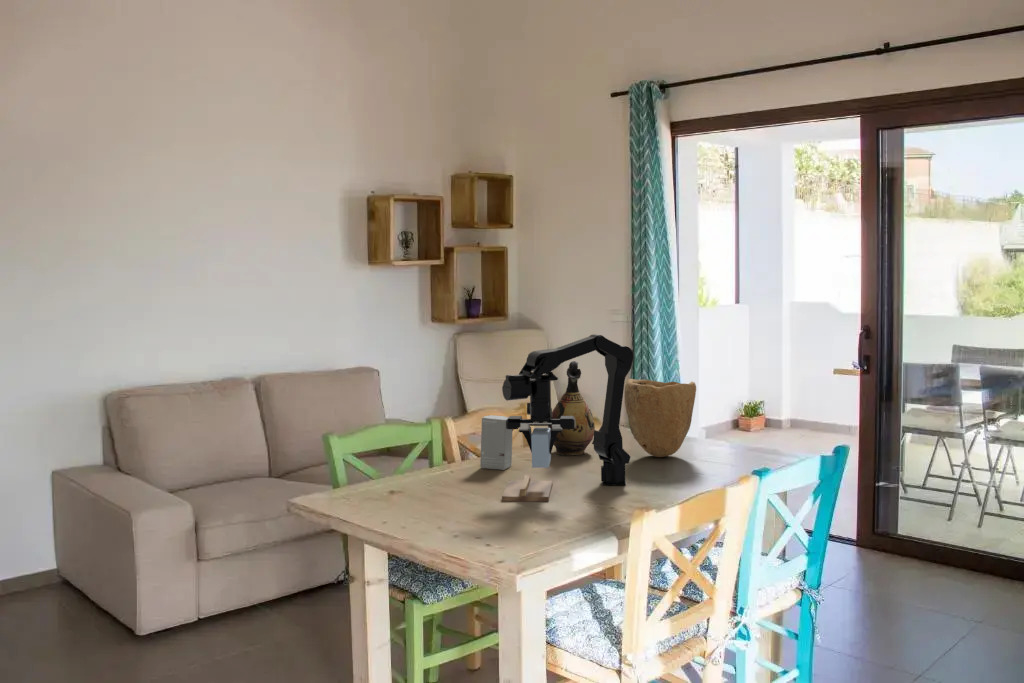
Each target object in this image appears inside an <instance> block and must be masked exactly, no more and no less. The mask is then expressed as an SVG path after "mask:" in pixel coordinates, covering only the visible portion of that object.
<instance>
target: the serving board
mask: <svg viewBox="0 0 1024 683" xmlns="http://www.w3.org/2000/svg"><path fill="white" fill-rule="evenodd" d="M553 484H554V483H553V480H531V475H529V474H527V475H526V474H524V478H523V479H522V480H508V482H507V484H506V486H505V488H504V491H503V494H502V495H501V502H550V496H551V493H552V490H553Z"/></svg>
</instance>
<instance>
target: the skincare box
mask: <svg viewBox="0 0 1024 683" xmlns="http://www.w3.org/2000/svg"><path fill="white" fill-rule="evenodd" d="M508 417H509V416H502V415H492V414H491V415H486V416H482V417H481V431H480V432H481V435H480V438H481V439H480V461H479V462H480V469H485V470H486V469H489V470H500V471H501V470H502V471H503V470H504V471H505V470H508V469H509V468H511V467H512V465H513V464H512V462H513V460H512V459H513V457H512V456H513V430H514V429H506V420H507V419H508Z"/></svg>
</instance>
